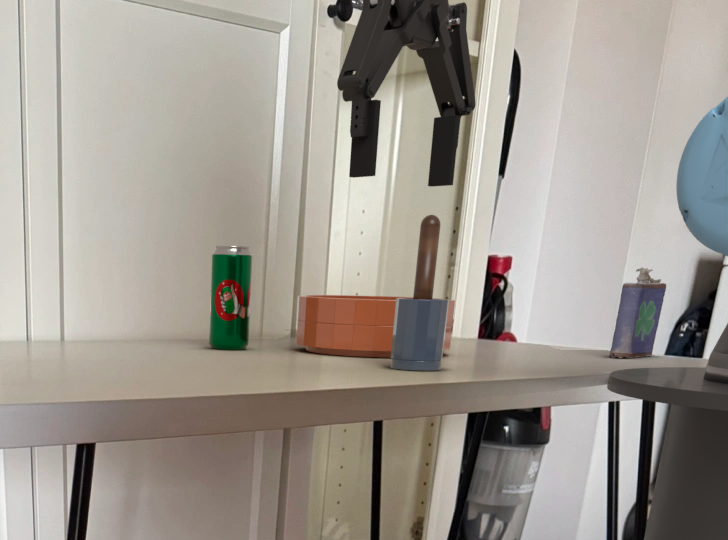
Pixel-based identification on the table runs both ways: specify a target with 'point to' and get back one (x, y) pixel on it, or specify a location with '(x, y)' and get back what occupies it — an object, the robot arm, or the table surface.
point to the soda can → (230, 297)
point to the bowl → (352, 324)
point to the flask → (638, 316)
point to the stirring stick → (427, 258)
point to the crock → (419, 334)
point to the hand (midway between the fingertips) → (402, 181)
